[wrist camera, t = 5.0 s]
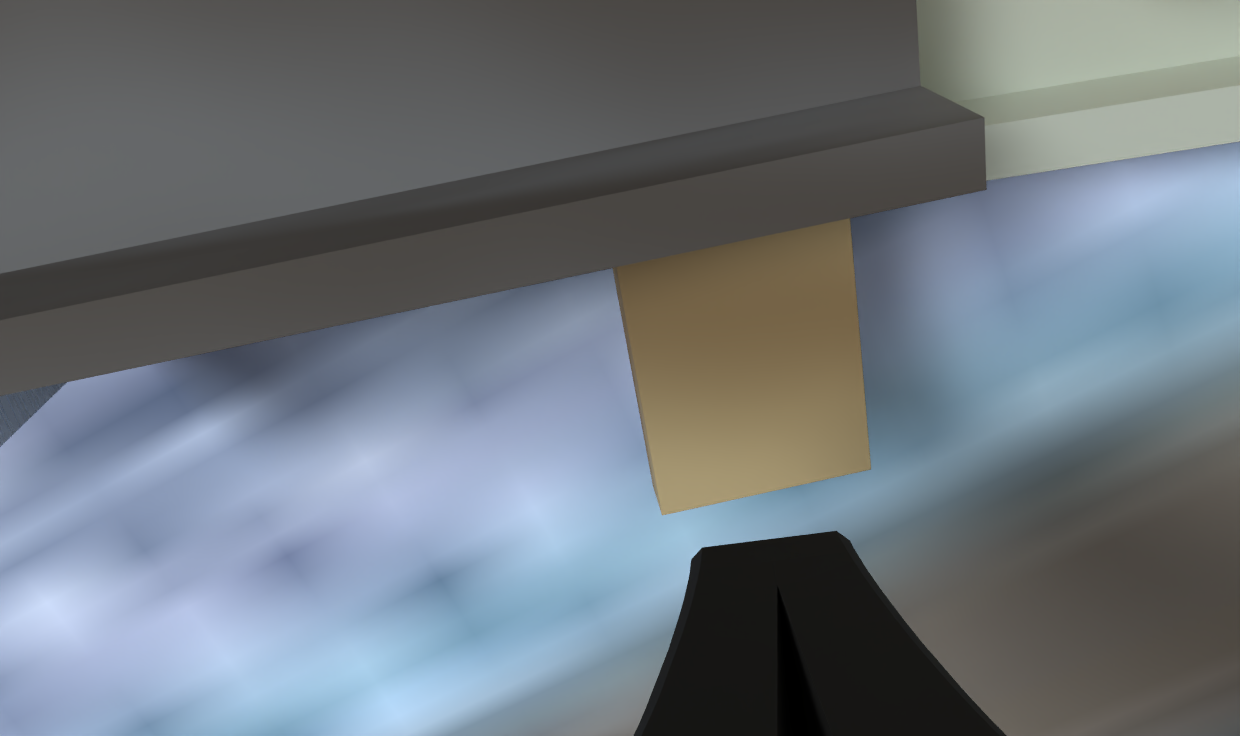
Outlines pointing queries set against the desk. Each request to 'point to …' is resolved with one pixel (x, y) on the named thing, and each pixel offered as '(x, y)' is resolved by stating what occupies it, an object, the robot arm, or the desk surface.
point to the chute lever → (477, 190)
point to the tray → (1085, 76)
